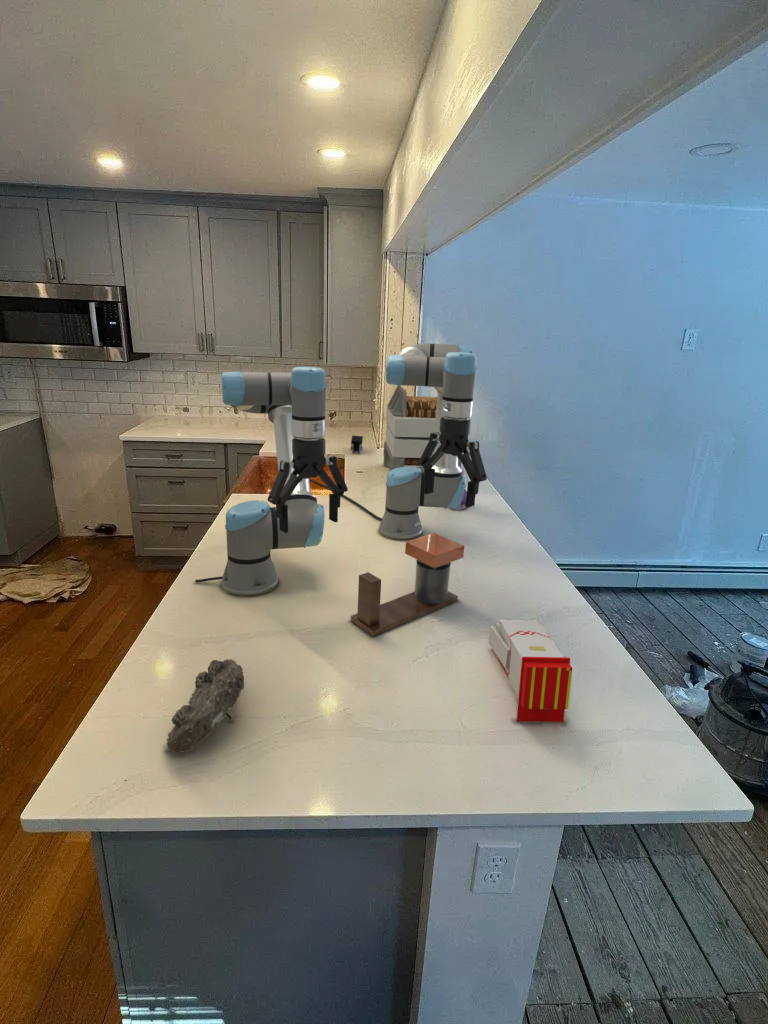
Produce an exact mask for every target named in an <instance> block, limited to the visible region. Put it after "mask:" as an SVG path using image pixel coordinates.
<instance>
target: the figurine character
mask: <svg viewBox="0 0 768 1024" xmlns="http://www.w3.org/2000/svg"><path fill="white" fill-rule="evenodd" d="M363 439H364V436H363V435H351V441H350V451H352V454H355V453H357V454H360V451H362V450H363V449H364V447H363Z"/></svg>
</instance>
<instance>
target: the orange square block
mask: <svg viewBox="0 0 768 1024" xmlns="http://www.w3.org/2000/svg"><path fill="white" fill-rule="evenodd" d="M404 547H405V549H404V554H405V555H406V556H409V557H411V558H413V559H415V560H416V559H417V560H419V561H421V562H423V563H425V564H427V565H429V566H431V567H433V568H436V567H439V566H442V565H444V564H447V563H450V562H451V563H452V562H453V563H454V562H455V561H459V560H461V559H464V555H465V545H463V544H462V543H459V542H457V541H455V540H453V539H450V538H447V537H445V536H443V535H441V534H439V533H436V532H433V533H430V534H426V535H423V536H420V537H418V538H415V539H411V540H405V545H404Z"/></svg>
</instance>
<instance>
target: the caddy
mask: <svg viewBox="0 0 768 1024" xmlns="http://www.w3.org/2000/svg"><path fill="white" fill-rule="evenodd" d="M415 561H416V565H415V578H414V579H415V580H414V591H413V592H410V593H408V594H405V595H402V596H400V597H397V598H394V599H392V600H389V601H386V602H383V603H381V594H382V593H381V592H382V579H381V578H379V577H377V576H376V575H374V574H372V573H371V572H369V571H367V572H364V573H362V574H361V573H360V574H358V588H357V589H358V590H357V591H358V592H357V613H355V614H352V615H350V622H351V623H353V624H354V625H356V626H357V627H359V628H360V629H361V630H363V631H365V632H366V633H368V635H370V636H372V637H376V636H378V635H381V634H383V633H385V632H388V631H390V630H392V629H394V628H397V627H400V626H402V625H404V624H406V623H409V622H411V621H414V620H416V619H418V618H420V617H423V616H425V615H428V614H431V613H432V612H435V611H437V610H439V609H442V608H444V607H447V606H449V605H451V604H454V603H456V602H458V600H459V599H458V598H459V597H458V596H459V595H457V594H455V593H452V592H451V591H449V584H450V576H451V575H450V574H451V572H450V571H451V564H452V562H450V563H447V564H444V565H442V566H439V567H436V568H433V567H431V566H429V565H427V564H425V563H423V562H421V561H419V560H417V559H415Z"/></svg>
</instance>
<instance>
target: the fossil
mask: <svg viewBox="0 0 768 1024" xmlns="http://www.w3.org/2000/svg"><path fill="white" fill-rule="evenodd" d="M243 670H244V669H243V667H242V665H240V664H237V662H236V661H235V660H234V659H232V658H231V659H227V658H226V659H224V660H223V661H222V660H217V659H212V660H211V661H210V663H209V665H208V666H207V671H201V672H199V673H198V674H197V675H196V676H195V680H194V684H195V685H194V687H195V689H194V690H193V693H192V694H191V697H190V698H189V700H188V704H184V705H182V706H181V707H180V709H177V710H176V711H175V713H174V715H173V716H172V718H171V723H172V724H173V727H172V730H171V731H170V732H168V734H167V738H166V741H167V742H166V745H167V749H168V750H169V751H173V752H174V753H176V754H178V753H182V752H188V751H189V752H192V751H193V750H195V748H196V747H197V746H199V744H200V743H201V742H203V741H204V740H205V739H206V738H207V737H208V736H209V735H210V734H211V733H212V732H214V730H215V729H217V727H218V726H219V724H220V722H221V721H222V720H223V719H224V718H225V716H226V717H227V719H229V720H233V717H232V715H230V714H229V710H230V709H231V708H234V706H235V704H236V703H237V702H238V699H239V697H240V695H241V693H242V691H243V690H245V689H244V688H245V675H244V671H243Z"/></svg>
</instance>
